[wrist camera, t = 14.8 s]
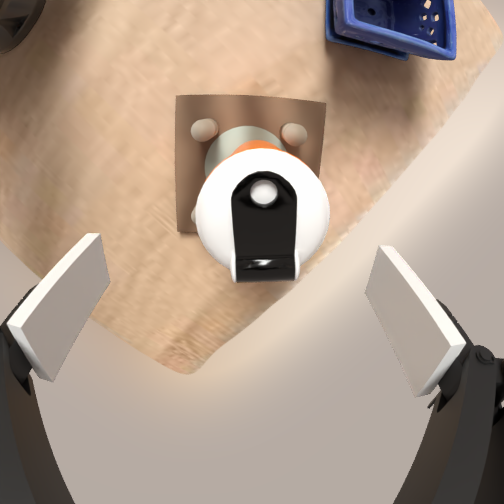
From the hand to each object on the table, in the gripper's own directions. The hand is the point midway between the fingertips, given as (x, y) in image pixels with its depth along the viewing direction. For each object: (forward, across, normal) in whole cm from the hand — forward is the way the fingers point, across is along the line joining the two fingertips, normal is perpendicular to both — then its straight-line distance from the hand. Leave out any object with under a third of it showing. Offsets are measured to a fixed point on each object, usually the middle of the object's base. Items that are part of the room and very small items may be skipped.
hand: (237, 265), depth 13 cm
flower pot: (+25, +14, +22) cm, 37 cm away
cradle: (+25, 0, 0) cm, 25 cm away
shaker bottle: (+24, +2, 0) cm, 24 cm away
